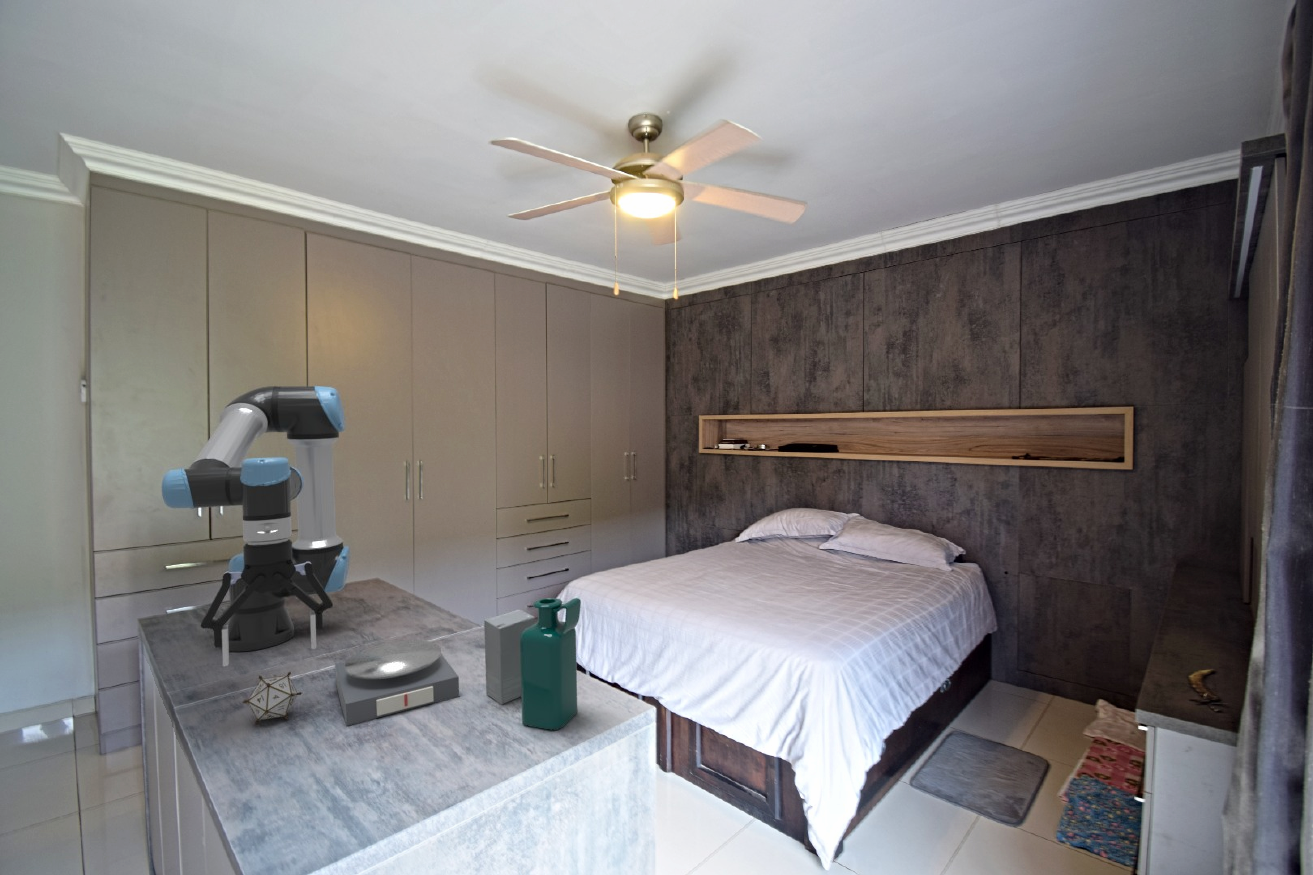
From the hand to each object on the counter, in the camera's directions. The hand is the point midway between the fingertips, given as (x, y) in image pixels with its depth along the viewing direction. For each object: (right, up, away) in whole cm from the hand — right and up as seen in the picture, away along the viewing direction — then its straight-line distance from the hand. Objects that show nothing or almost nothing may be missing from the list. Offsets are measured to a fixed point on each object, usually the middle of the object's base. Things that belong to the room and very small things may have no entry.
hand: (271, 655), depth 109 cm
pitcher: (+52, -11, -1) cm, 54 cm away
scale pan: (+18, -7, +12) cm, 22 cm away
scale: (+18, -11, +12) cm, 24 cm away
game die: (0, -12, +1) cm, 12 cm away
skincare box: (+42, -11, +9) cm, 45 cm away
